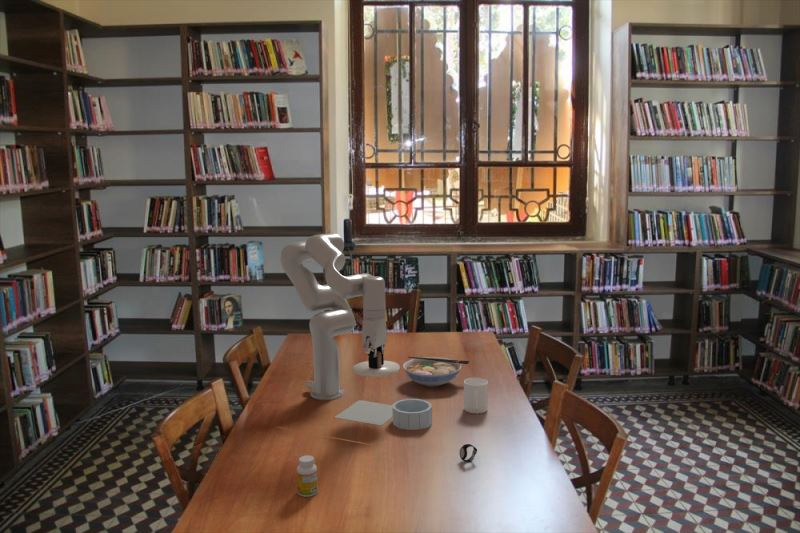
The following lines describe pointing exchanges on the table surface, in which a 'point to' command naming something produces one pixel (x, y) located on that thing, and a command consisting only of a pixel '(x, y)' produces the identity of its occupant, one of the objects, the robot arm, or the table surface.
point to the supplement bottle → (307, 477)
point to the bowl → (412, 414)
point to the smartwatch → (464, 452)
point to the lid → (381, 371)
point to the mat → (367, 412)
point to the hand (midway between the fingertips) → (376, 365)
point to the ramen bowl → (432, 370)
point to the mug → (475, 395)
